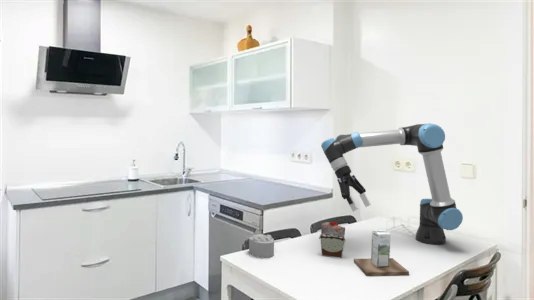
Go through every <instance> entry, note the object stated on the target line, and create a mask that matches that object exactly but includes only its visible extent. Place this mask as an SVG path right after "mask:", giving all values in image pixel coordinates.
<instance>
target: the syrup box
mask: <svg viewBox="0 0 534 300" xmlns="http://www.w3.org/2000/svg"><path fill="white" fill-rule="evenodd" d="M391 236H392V235H391V233H389V232H388V231H386V230H384V229H383V230H382V229H381V230H380V229H379V230H372V232H371V254H370V258H371V263H372V264H374V265H375V266H376V267H388V266H389V258H391V257H390V256H391V255H390V253H391Z"/></svg>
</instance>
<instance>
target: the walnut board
mask: <svg viewBox="0 0 534 300" xmlns="http://www.w3.org/2000/svg"><path fill="white" fill-rule="evenodd" d="M353 263H354V264H355V265H356V266H357V267H358V269H360V271H361V272H362V273H363V274H364V275H365V276H366V277H380V276H381V277H383V276H385V277H389V276H392V277H393V276H410V271H409V270H408V269H407V268H405V267H404V266H403V265H402V264H400V263H399V262H398V261H396V259H394V258H392V257H390V258H389V266H388V267H376V266H375V265H374V264H372V263H371V257H370V258H353Z"/></svg>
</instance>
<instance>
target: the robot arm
mask: <svg viewBox="0 0 534 300" xmlns="http://www.w3.org/2000/svg"><path fill="white" fill-rule="evenodd" d="M445 133H446V132H445V131H444V129H443V128H442V127H441V126H440V125H438V124H435V123H420V124H419V123H418V124H417V123H416V124H413V125H409V126H401V127H399V128H398V129H391V130H390V129H389V130H381V131H371V132H360V133H359V132H357V131H355V132H353V133H350V134H339V135H337V136H336V137H335V138H333V137H331V138H327V139H325V140H324V141H323V142H322V143H321V149H322V151H323V154H324V155H325V158H326V159H327V161H328V163H329V165H330V166H331V169H332V171H334V174H335V176H336V178H337V183H338V186H339V189H340V194H341V198H342V199H343V200H346V201H347V203H348V205H349V207H350V209H351V211H352V212H355V211H358V210H359V208H358V206H357V204H356V202H355V200H354V198H353V196H352V195H351V191H350V190H351V189H350V187H351V188H353V189H354V190H355V191H356V192H357V193H358V195H359V197H360V199H361V201H362V203H363V205H364V207H365V208H367V207H369V206H371V204H372V203H371V202H370V200H369V198H368V197H367V195H366V192H367V190H366V188H365V187H364V186H363V185H362V184H361V182H360V181H359V180H358V179H357V178H356V177H357V176H355V175H354V174H353V175H351V173H352V169H351V167H350V166H349V164H348V161H347V160H346V158H345V154H347V153H349V152H350V151H353V150H356V149H358V148H359V149H360V148H366V147H367V148H370V147H379V146H390V145H391V146H393V145H400V146H412V147H413V146H414V147H417V152H418V154H420V155H421V156H422V159H423V163H424V168H425V173H426V178H427V182H428V186H429V191H430V194H431V198H422V199H420V200H419V201H420V204H419V225H418V229H417V230H416V233H415V240H416V241H418V242H419V243H424V244H426V245H427V244H429V245H444V244H446V243H447V237H446V234H445V231H444V230H447V231H453V230H456V229H458V228H459V227H460V225H462V222H463V219H464V218H463V213H462V212H461V210H460V209H458V208H457V204H456V200H455V199H453V198H452V197H451V193H450V189H449V188H450V187H449V184H448V179H447V175H446V169H445V164H444V161H443V156H442V151H443V149H444V145H443V144H444V142H445V140H446V134H445Z"/></svg>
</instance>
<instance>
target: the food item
mask: <svg viewBox="0 0 534 300" xmlns="http://www.w3.org/2000/svg"><path fill="white" fill-rule="evenodd" d="M322 233H338V234H342V235H344V236H345V234H346V227H345V226H341V225H339V223H337V222H336V221H331V222H327V221H326V222H322V223H321V228H320V234H322Z"/></svg>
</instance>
